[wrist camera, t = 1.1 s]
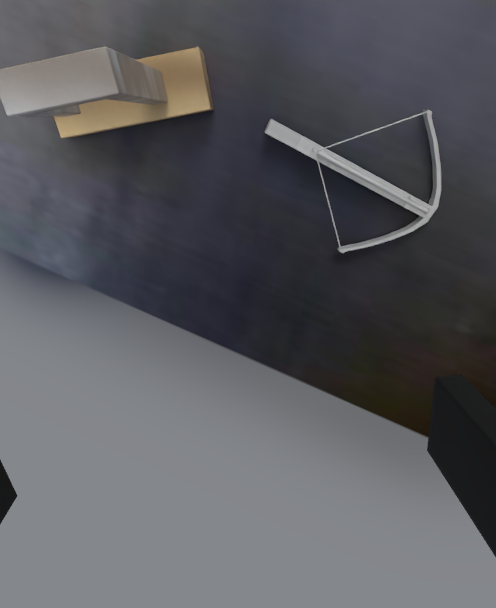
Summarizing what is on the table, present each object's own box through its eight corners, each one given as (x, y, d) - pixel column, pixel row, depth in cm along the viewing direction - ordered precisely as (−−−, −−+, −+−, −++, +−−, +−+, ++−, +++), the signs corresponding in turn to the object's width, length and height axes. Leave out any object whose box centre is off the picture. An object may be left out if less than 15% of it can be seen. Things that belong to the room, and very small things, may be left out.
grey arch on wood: (214, 110, 31) (183, 104, 19) (74, 137, 32) (-38, 148, 20) (203, 51, 29) (161, 5, 17) (56, 82, 30) (-78, 59, 18)
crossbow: (472, 141, 32) (487, 144, 30) (384, 269, 37) (391, 277, 35) (305, 40, 28) (310, 35, 26) (234, 196, 33) (233, 202, 31)
